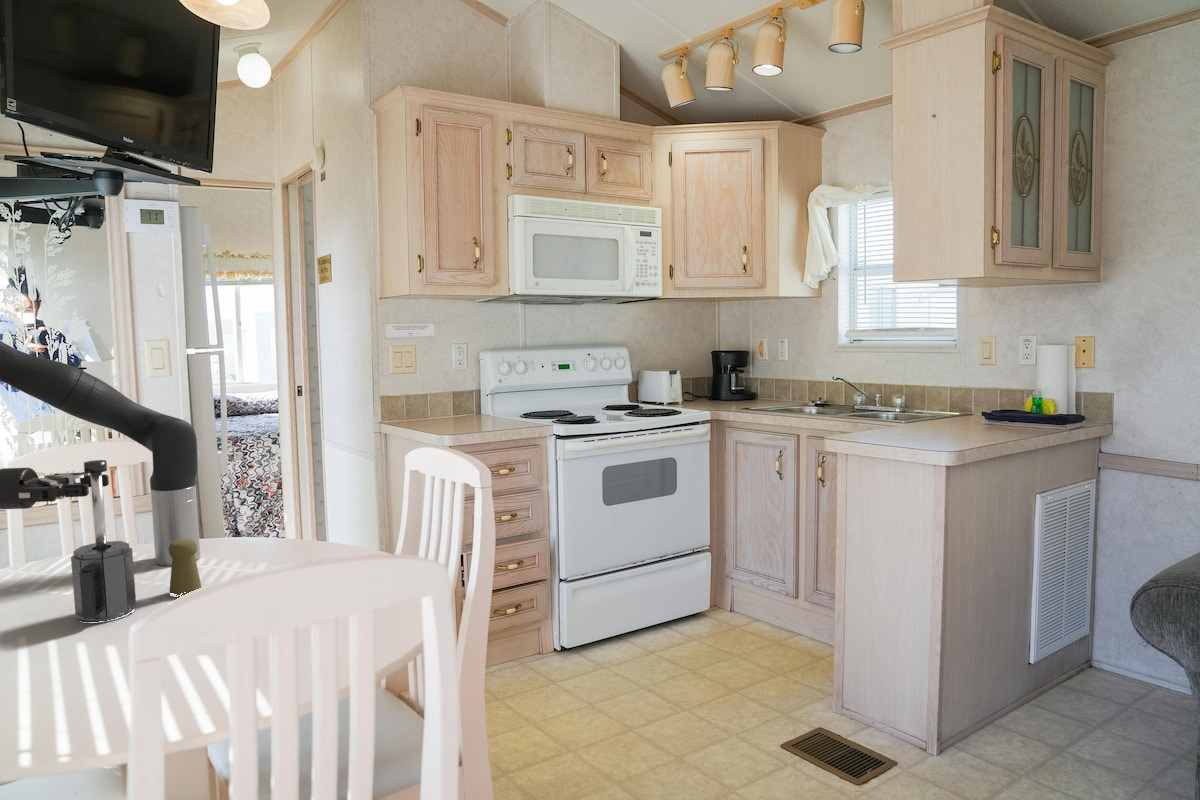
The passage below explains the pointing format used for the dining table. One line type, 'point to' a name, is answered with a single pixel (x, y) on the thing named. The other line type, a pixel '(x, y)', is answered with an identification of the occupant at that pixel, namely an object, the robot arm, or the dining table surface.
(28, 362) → the robot arm
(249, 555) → the dining table surface
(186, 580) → the cork
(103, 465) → the plunger
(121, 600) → the coffee press
